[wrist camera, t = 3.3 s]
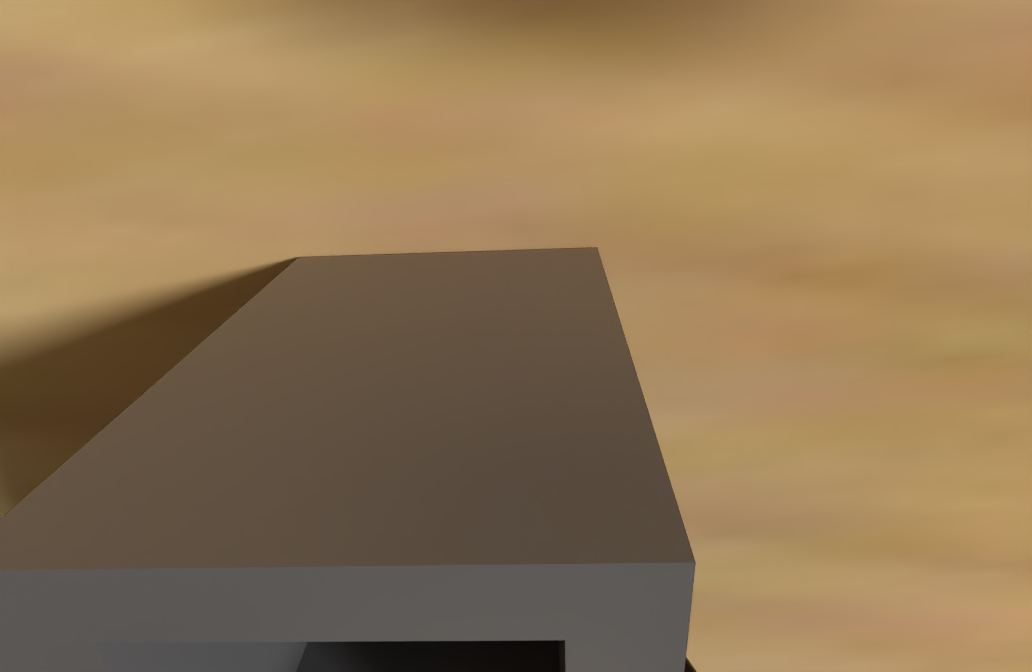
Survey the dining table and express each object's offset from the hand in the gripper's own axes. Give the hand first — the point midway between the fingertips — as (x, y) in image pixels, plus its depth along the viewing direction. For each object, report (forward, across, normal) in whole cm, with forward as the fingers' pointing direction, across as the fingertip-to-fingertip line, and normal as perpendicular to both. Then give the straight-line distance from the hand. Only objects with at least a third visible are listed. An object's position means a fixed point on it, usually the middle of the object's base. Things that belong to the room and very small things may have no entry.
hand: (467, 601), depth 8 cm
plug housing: (+1, 0, 0) cm, 1 cm away
